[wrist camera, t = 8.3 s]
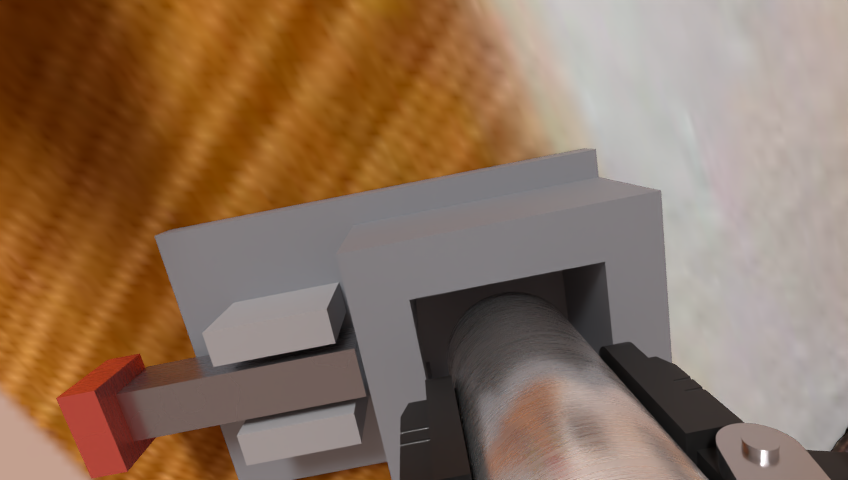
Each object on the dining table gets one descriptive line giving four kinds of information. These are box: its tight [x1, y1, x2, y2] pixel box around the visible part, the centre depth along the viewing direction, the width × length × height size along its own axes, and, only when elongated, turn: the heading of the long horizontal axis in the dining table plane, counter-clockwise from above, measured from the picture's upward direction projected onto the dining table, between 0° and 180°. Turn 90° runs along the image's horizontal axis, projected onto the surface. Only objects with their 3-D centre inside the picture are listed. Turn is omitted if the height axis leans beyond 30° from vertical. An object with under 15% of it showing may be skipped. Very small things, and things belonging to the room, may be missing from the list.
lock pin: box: [56, 327, 368, 478], centre depth 15 cm, size 9×3×2 cm, turn 101°
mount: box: [155, 149, 672, 480], centre depth 15 cm, size 16×11×5 cm
